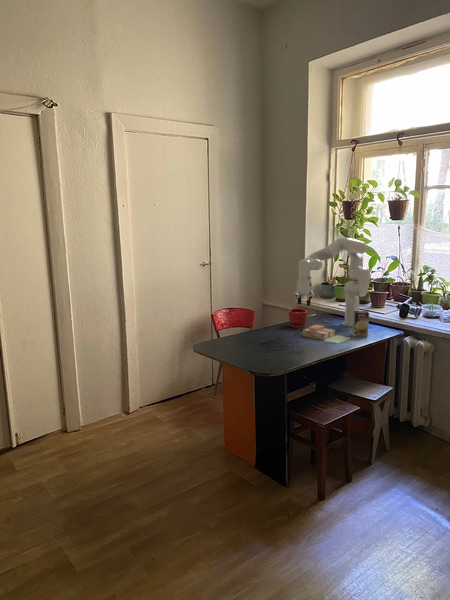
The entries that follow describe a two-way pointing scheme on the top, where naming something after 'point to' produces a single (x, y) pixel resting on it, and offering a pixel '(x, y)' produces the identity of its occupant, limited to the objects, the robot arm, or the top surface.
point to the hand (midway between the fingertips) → (303, 304)
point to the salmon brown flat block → (316, 328)
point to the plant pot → (297, 318)
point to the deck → (319, 333)
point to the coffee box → (360, 323)
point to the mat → (337, 339)
